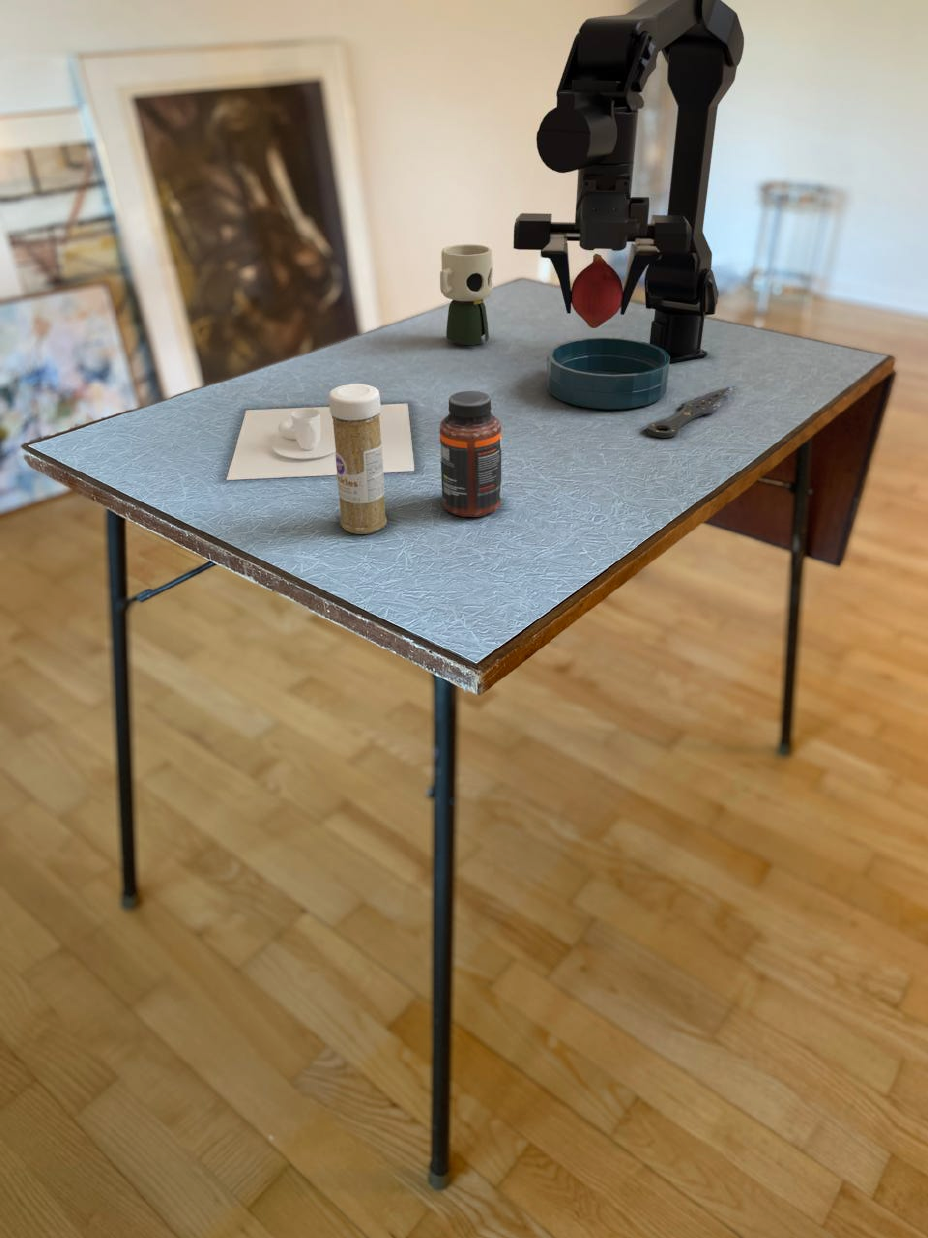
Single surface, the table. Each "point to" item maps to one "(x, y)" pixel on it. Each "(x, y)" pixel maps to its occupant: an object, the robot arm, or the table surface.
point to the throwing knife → (689, 413)
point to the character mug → (466, 291)
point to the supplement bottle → (470, 456)
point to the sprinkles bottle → (358, 457)
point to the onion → (597, 292)
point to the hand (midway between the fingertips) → (595, 313)
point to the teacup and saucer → (310, 443)
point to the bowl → (607, 373)
